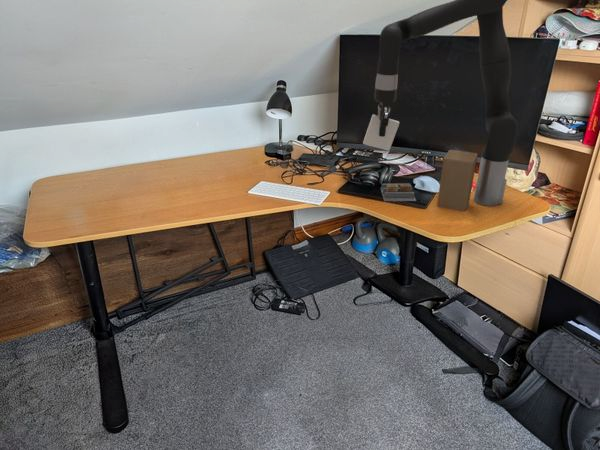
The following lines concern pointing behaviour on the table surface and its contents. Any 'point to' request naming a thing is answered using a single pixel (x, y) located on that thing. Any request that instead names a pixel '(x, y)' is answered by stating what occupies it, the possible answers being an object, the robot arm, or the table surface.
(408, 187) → the walnut offcut
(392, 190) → the oak offcut
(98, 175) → the table surface
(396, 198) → the charcoal rack
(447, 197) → the wooden block
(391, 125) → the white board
